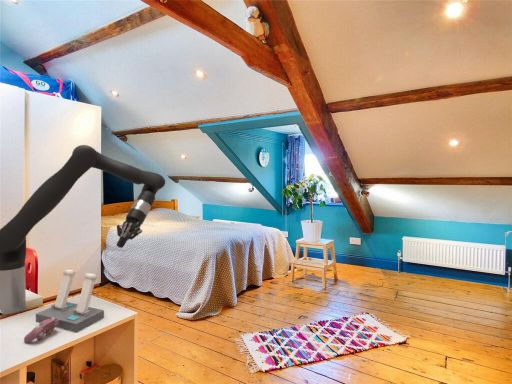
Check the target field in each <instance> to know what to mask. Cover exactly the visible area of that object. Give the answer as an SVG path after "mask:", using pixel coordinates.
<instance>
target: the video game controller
mask: <svg viewBox="0 0 512 384" xmlns="http://www.w3.org/2000/svg"><path fill="white" fill-rule="evenodd" d="M59 322H60V320H58V319H56V318H54V317H52V318H51V319H46V320H44V321H42V322H41V323H38V324H37V325H36V326H35V327H34V328H32V330H31V331H30V332H29V333H27V334H26V335H25V336H24V337H23V341H24V343H27V344H28V343H31V342H33V341H35V340H36V339H37V340H38V341H40V340H42V338H43V337H45V336H49V335H50V334H51V333H52V332H53V330H54V329H56V328H58V327H57V325H58V324H59Z"/></svg>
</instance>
